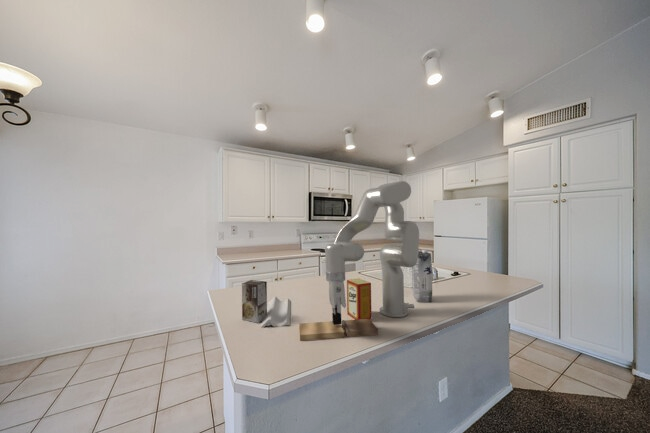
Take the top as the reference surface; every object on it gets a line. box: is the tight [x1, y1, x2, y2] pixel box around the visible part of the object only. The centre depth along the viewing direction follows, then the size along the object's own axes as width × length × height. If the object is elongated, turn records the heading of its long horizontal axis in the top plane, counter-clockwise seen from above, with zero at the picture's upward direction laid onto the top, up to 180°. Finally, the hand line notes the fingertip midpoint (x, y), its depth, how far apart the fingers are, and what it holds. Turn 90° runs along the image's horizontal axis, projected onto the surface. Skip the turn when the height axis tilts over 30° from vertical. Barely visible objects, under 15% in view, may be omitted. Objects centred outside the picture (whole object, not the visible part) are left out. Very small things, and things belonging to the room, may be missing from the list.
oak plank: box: [298, 320, 345, 342], centre depth 91 cm, size 16×10×2 cm, turn 98°
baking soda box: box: [346, 278, 373, 320], centre depth 107 cm, size 10×6×16 cm
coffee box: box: [241, 279, 268, 324], centre depth 105 cm, size 9×6×16 cm
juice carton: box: [411, 249, 433, 303], centre depth 129 cm, size 9×10×27 cm
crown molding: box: [260, 296, 292, 329], centre depth 113 cm, size 31×12×4 cm, turn 8°
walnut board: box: [341, 319, 379, 338], centre depth 93 cm, size 12×10×2 cm
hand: (337, 323), depth 92 cm, fingers closed
